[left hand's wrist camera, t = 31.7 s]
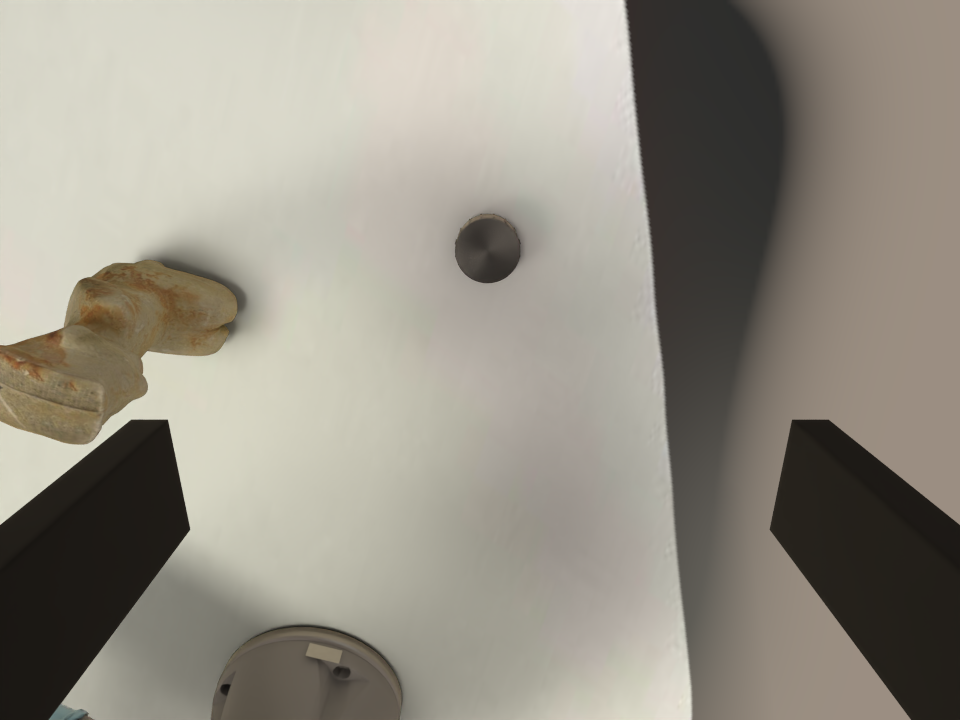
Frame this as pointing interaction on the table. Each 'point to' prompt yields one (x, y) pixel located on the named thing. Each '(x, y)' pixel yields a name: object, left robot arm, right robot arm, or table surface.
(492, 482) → the table surface
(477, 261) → the cap
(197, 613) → the table surface
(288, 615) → the table surface
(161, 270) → the sculpture
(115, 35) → the table surface
